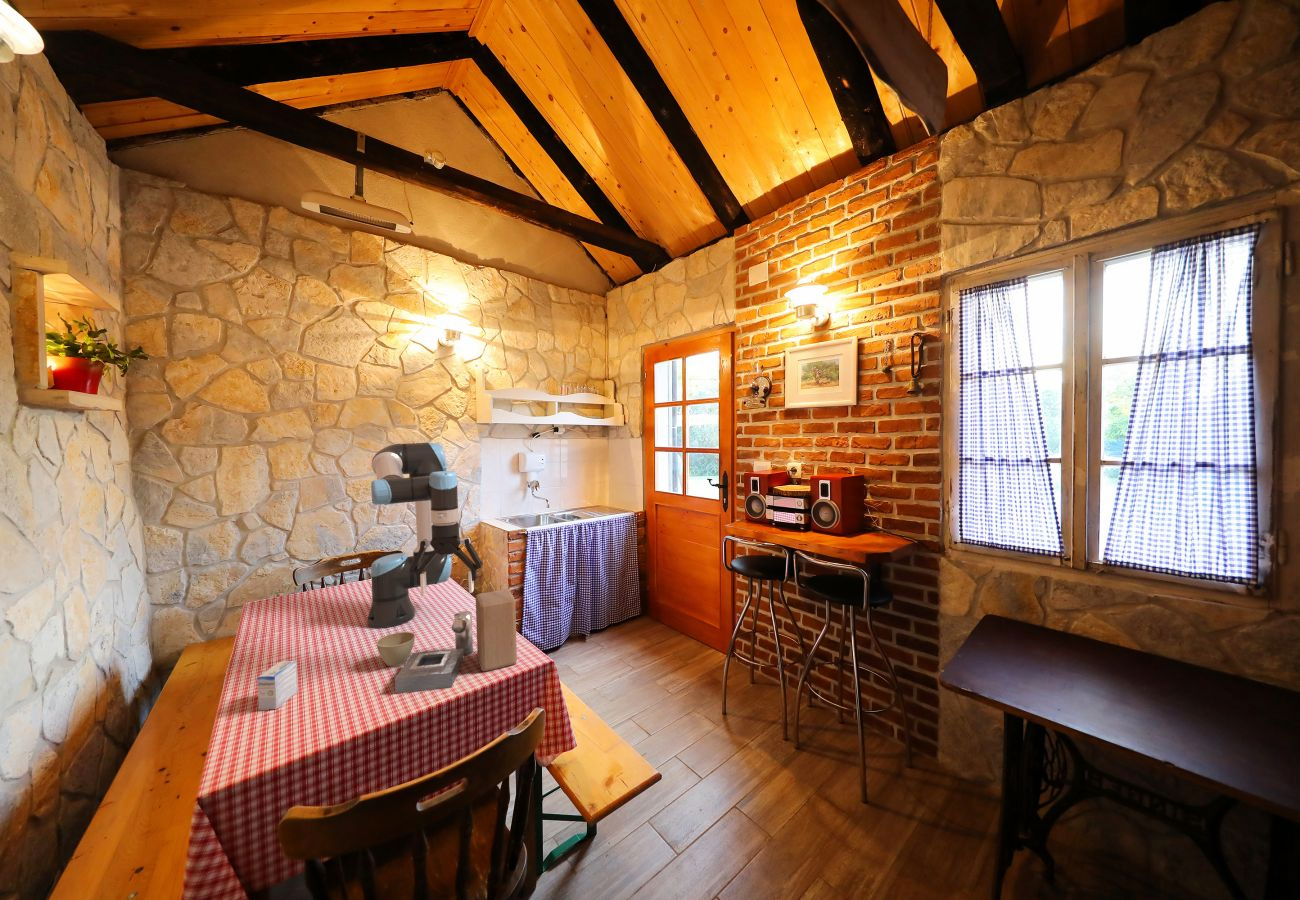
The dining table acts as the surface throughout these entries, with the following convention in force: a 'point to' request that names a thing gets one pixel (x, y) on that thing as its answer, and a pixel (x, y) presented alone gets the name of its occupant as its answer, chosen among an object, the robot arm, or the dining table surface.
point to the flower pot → (396, 647)
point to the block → (496, 629)
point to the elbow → (463, 632)
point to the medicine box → (277, 685)
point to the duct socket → (429, 670)
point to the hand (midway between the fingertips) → (447, 593)
